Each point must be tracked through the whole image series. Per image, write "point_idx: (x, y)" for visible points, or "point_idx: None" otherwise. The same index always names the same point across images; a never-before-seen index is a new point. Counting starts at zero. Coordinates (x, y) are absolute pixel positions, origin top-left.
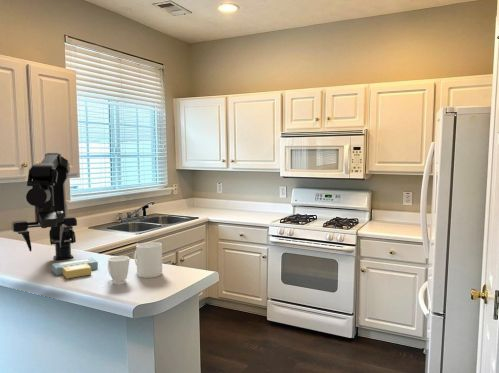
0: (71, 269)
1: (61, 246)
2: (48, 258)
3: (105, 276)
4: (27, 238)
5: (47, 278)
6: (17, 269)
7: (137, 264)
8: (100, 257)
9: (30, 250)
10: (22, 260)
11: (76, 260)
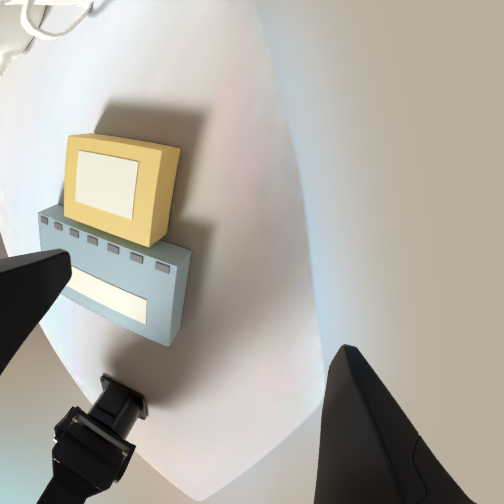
0: (132, 164)
1: (59, 251)
2: (159, 421)
3: (75, 76)
4: (428, 483)
5: (240, 240)
6: (264, 417)
7: (13, 15)
8: (45, 315)
9: (354, 350)
10: (217, 450)
11: (86, 304)
